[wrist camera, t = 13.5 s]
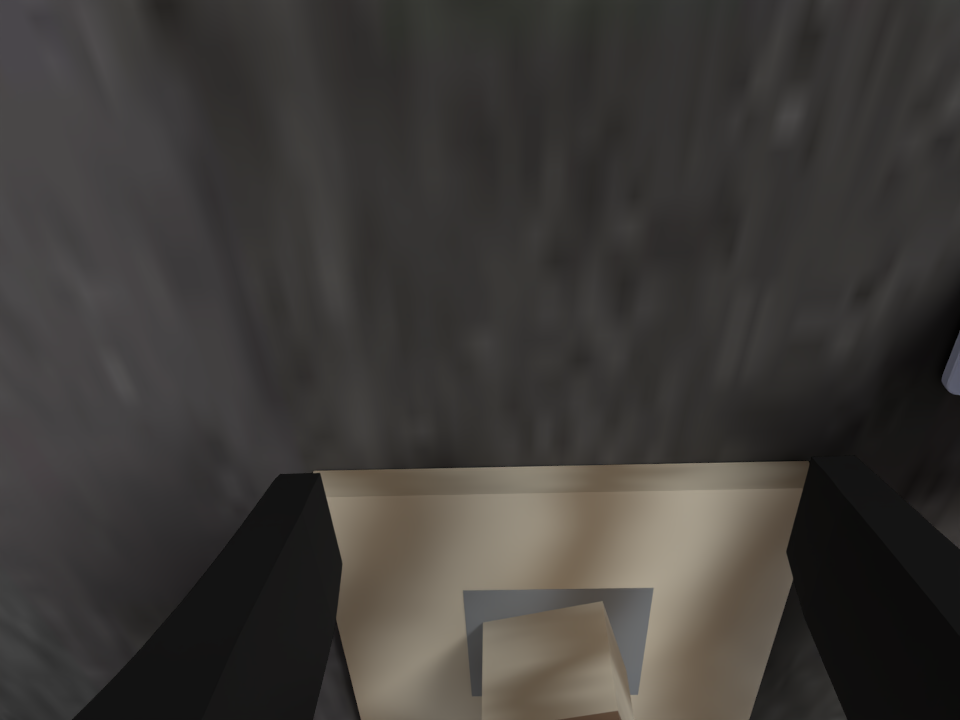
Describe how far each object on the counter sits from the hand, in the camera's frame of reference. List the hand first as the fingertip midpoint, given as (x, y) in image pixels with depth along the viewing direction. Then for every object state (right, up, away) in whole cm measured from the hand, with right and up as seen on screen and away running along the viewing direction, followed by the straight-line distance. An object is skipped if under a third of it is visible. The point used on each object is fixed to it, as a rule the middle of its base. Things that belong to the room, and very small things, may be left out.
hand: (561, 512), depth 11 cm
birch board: (+2, -8, +18) cm, 19 cm away
